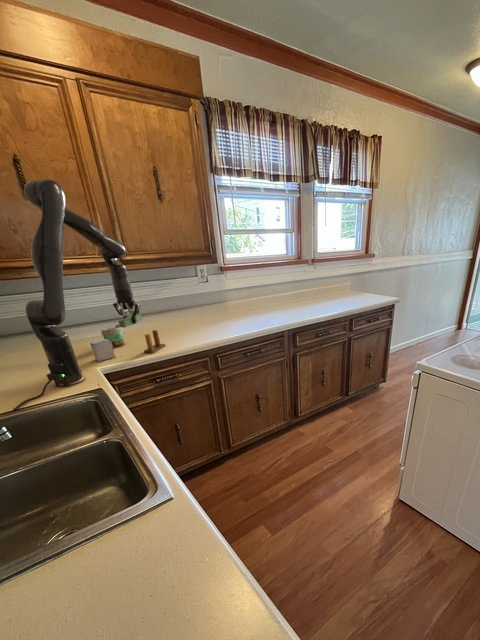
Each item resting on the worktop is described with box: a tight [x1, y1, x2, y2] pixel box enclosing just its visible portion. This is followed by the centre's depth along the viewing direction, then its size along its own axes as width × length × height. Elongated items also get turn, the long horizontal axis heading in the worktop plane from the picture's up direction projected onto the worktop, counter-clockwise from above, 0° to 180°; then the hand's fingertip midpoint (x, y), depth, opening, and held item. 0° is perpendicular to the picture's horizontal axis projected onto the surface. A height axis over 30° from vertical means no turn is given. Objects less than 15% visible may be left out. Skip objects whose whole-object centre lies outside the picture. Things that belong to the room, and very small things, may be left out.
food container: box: [100, 324, 125, 349], centre depth 175 cm, size 12×6×10 cm, turn 168°
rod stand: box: [143, 329, 166, 354], centre depth 170 cm, size 5×12×9 cm, turn 171°
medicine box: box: [90, 338, 116, 362], centre depth 158 cm, size 8×4×9 cm, turn 141°
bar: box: [117, 314, 143, 328], centre depth 163 cm, size 3×14×3 cm, turn 172°
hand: (131, 323), depth 164 cm, fingers closed on bar, 3 cm apart
